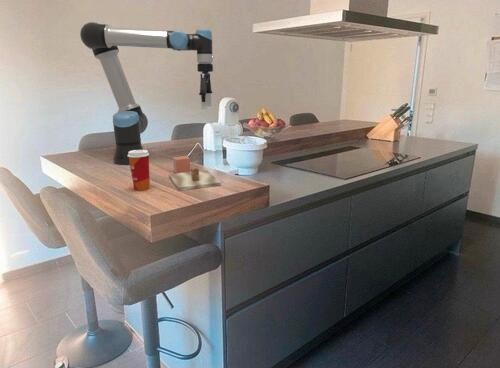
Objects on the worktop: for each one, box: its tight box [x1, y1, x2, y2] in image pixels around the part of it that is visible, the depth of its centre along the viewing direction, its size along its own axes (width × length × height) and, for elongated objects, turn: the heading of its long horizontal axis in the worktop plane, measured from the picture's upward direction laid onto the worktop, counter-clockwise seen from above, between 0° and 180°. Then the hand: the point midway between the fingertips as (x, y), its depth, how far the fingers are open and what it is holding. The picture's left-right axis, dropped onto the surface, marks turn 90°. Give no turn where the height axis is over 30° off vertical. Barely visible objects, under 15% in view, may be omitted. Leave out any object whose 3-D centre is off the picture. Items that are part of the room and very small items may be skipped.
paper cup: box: [128, 149, 151, 191], centre depth 137 cm, size 8×8×14 cm
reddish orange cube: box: [172, 155, 191, 174], centre depth 161 cm, size 6×6×6 cm
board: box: [168, 167, 222, 192], centre depth 146 cm, size 16×20×6 cm
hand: (206, 107), depth 189 cm, fingers open, 13 cm apart
